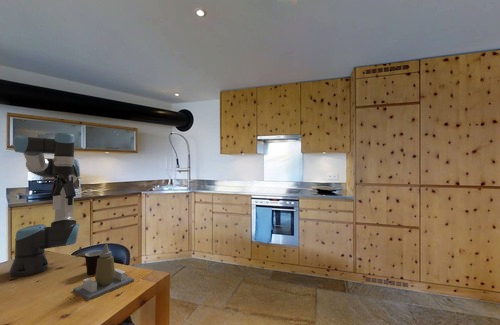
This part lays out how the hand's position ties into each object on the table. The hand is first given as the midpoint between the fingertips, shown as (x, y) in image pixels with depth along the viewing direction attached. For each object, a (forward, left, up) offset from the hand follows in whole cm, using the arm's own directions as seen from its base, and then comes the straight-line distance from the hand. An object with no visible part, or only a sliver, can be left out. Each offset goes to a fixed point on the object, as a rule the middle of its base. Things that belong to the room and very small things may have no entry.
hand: (62, 210), depth 112 cm
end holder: (+18, +11, -35) cm, 41 cm away
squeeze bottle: (+18, +11, -34) cm, 40 cm away
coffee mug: (-2, +17, -35) cm, 39 cm away
